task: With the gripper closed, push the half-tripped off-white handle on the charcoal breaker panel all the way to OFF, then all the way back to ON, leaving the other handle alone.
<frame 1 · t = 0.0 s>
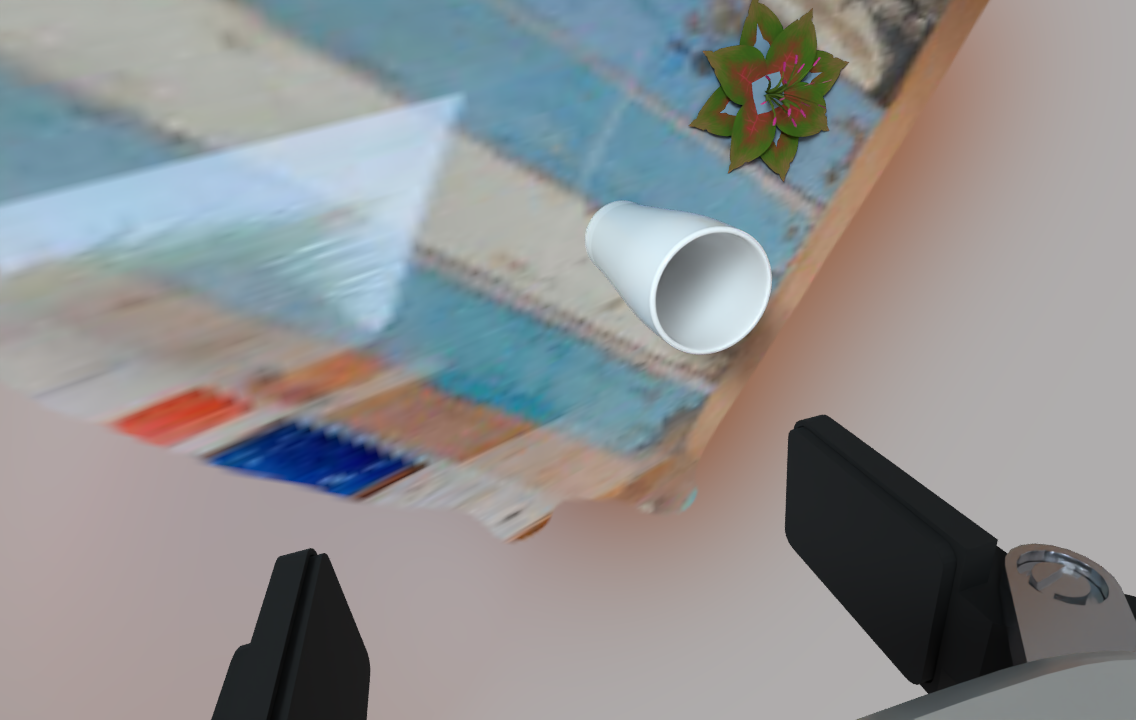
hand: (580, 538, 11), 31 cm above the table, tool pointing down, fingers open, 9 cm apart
lily flower: (762, 94, 41), on the table
drinking glass: (617, 236, 42), on the table
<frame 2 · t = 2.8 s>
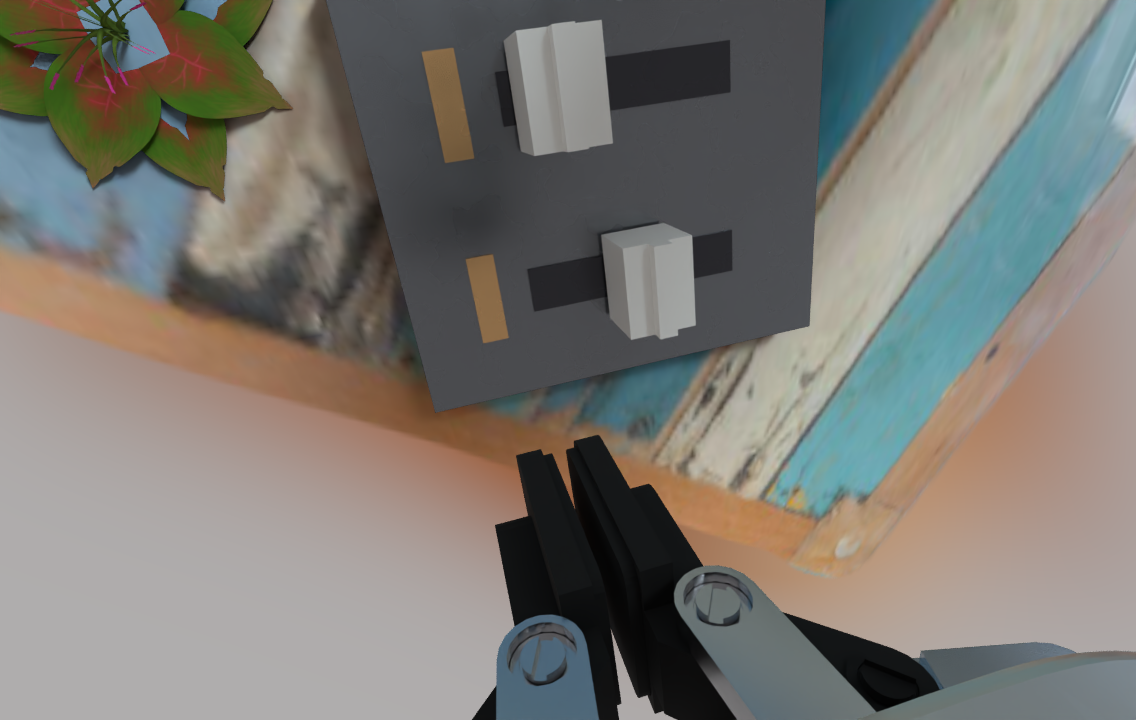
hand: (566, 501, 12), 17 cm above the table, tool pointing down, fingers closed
breaker panel: (602, 179, 27), on the table
tripped breaker: (650, 281, 25), point 4 cm above the table, slide at 3.0 cm
lily flower: (131, 35, 21), on the table
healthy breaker: (559, 91, 21), point 4 cm above the table, slide at 6.0 cm
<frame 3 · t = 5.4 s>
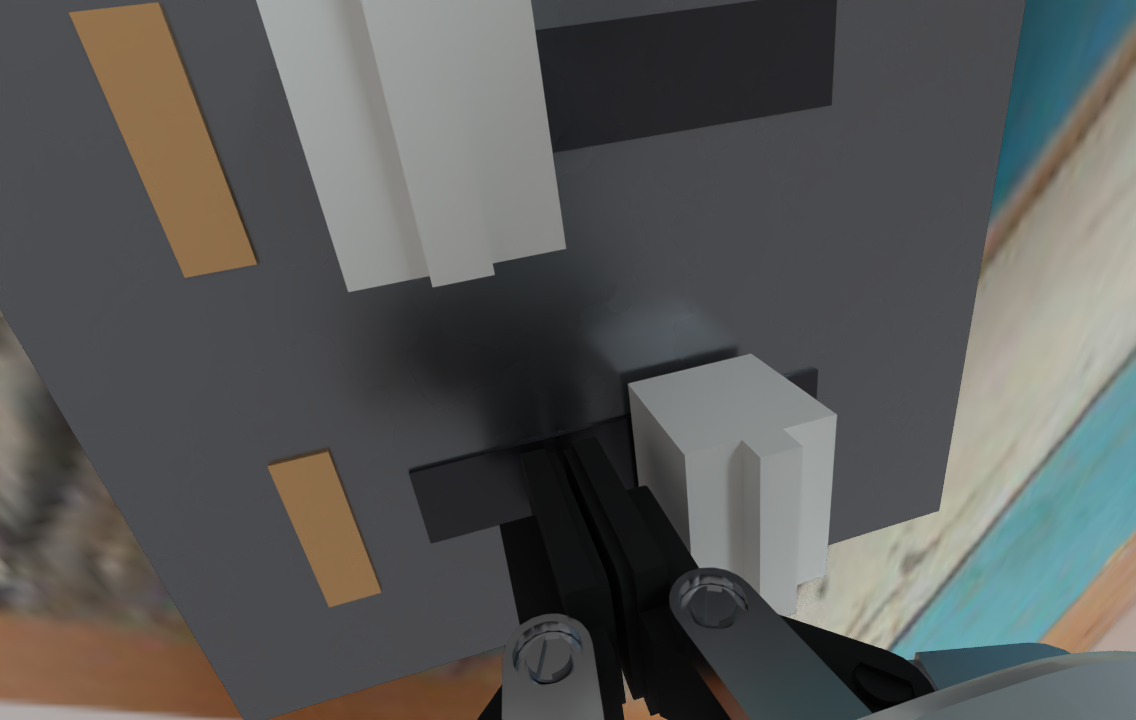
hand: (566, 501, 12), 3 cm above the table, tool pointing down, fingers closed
breaker panel: (565, 276, 14), on the table
tripped breaker: (731, 485, 12), point 4 cm above the table, slide at 1.4 cm, touching gripper
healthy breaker: (423, 112, 8), point 4 cm above the table, slide at 6.0 cm
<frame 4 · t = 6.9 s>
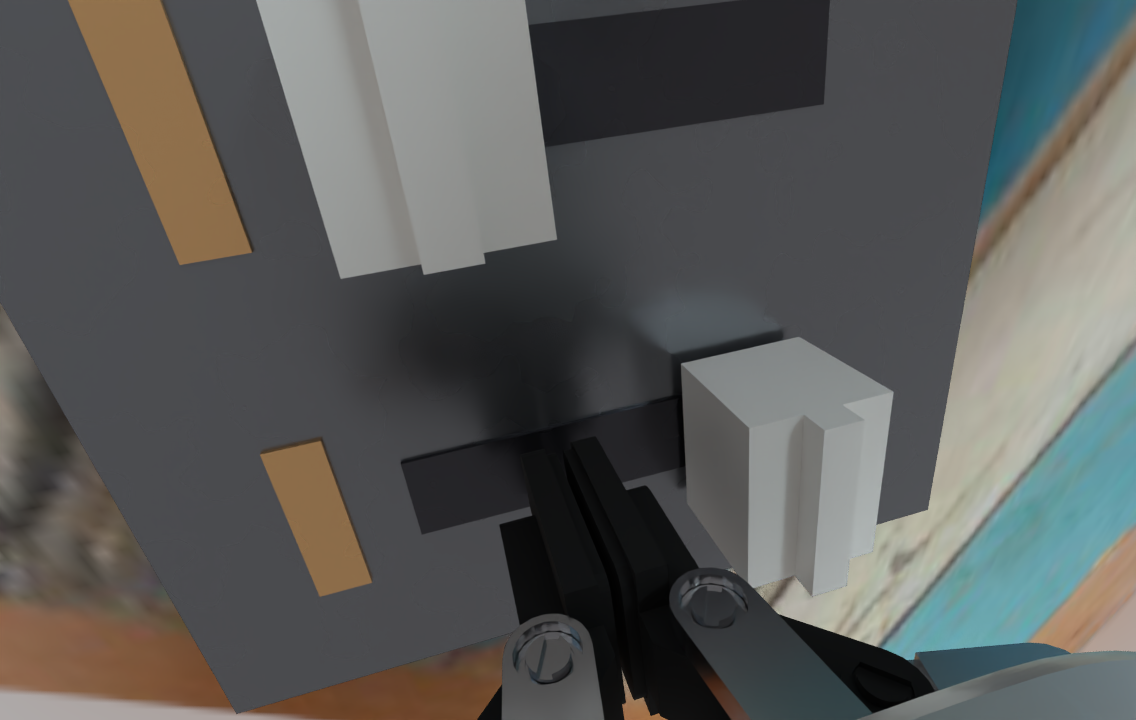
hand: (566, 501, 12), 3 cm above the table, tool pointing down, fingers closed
breaker panel: (559, 270, 14), on the table
tripped breaker: (782, 463, 13), point 4 cm above the table, slide at -0.1 cm
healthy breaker: (418, 102, 8), point 4 cm above the table, slide at 6.0 cm
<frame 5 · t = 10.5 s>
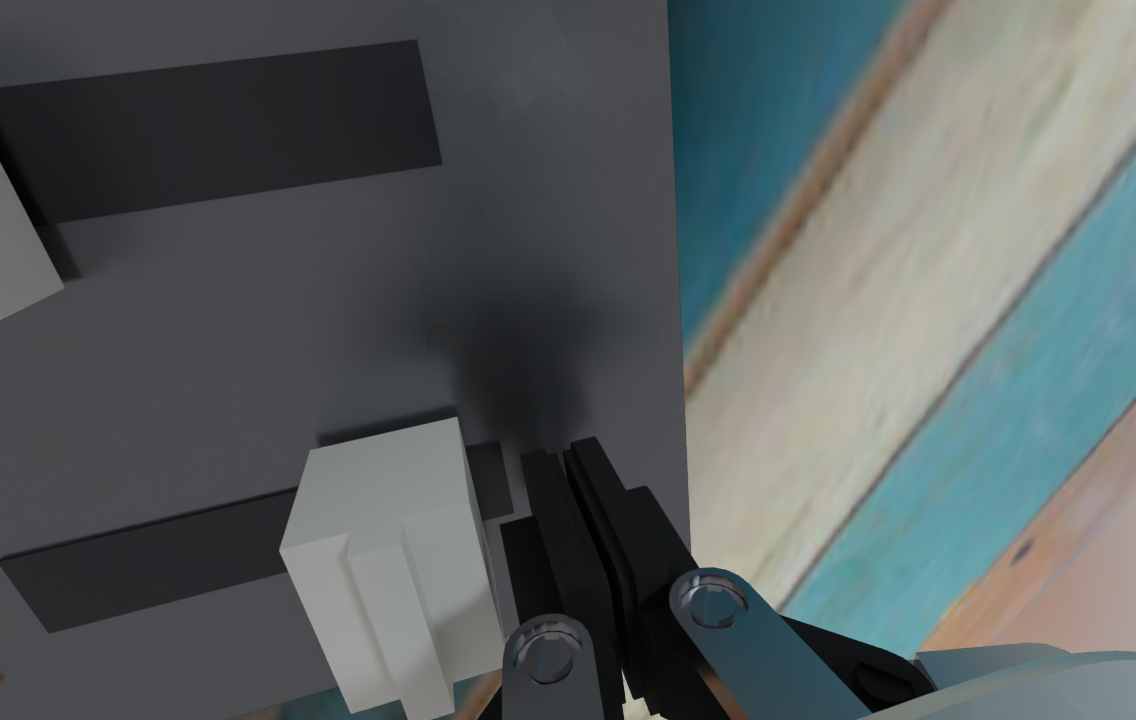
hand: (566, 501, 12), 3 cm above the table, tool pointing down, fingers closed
breaker panel: (217, 337, 13), on the table
tripped breaker: (407, 566, 11), point 4 cm above the table, slide at 0.3 cm, touching gripper
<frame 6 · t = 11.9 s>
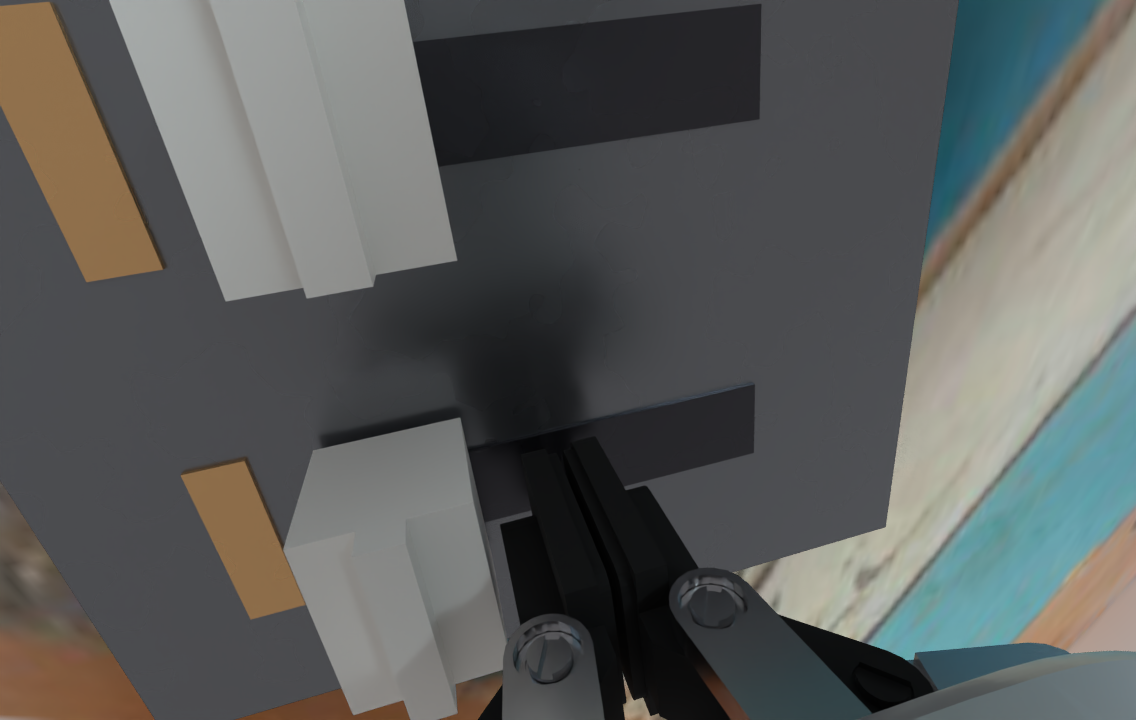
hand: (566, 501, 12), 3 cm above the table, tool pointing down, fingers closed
breaker panel: (500, 285, 14), on the table
tripped breaker: (410, 566, 11), point 4 cm above the table, slide at 6.5 cm, touching gripper
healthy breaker: (314, 119, 8), point 4 cm above the table, slide at 6.0 cm
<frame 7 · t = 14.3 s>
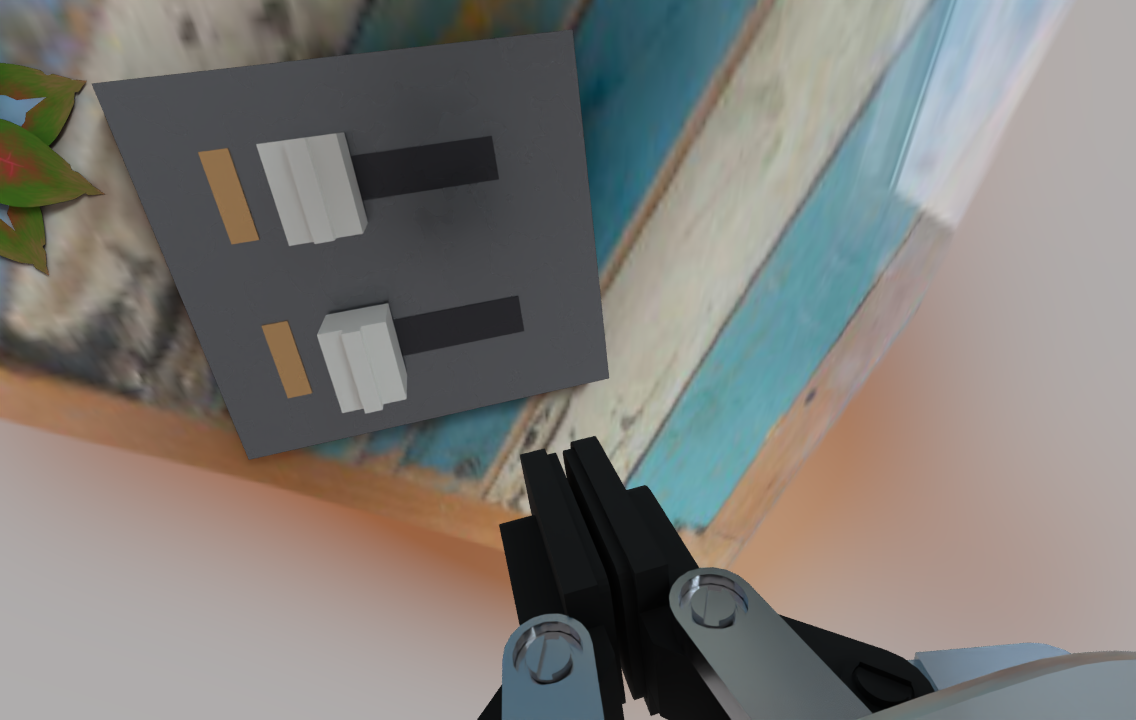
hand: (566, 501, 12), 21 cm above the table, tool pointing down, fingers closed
breaker panel: (400, 251, 30), on the table
tripped breaker: (365, 358, 28), point 4 cm above the table, slide at 6.1 cm
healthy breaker: (316, 188, 24), point 4 cm above the table, slide at 6.0 cm
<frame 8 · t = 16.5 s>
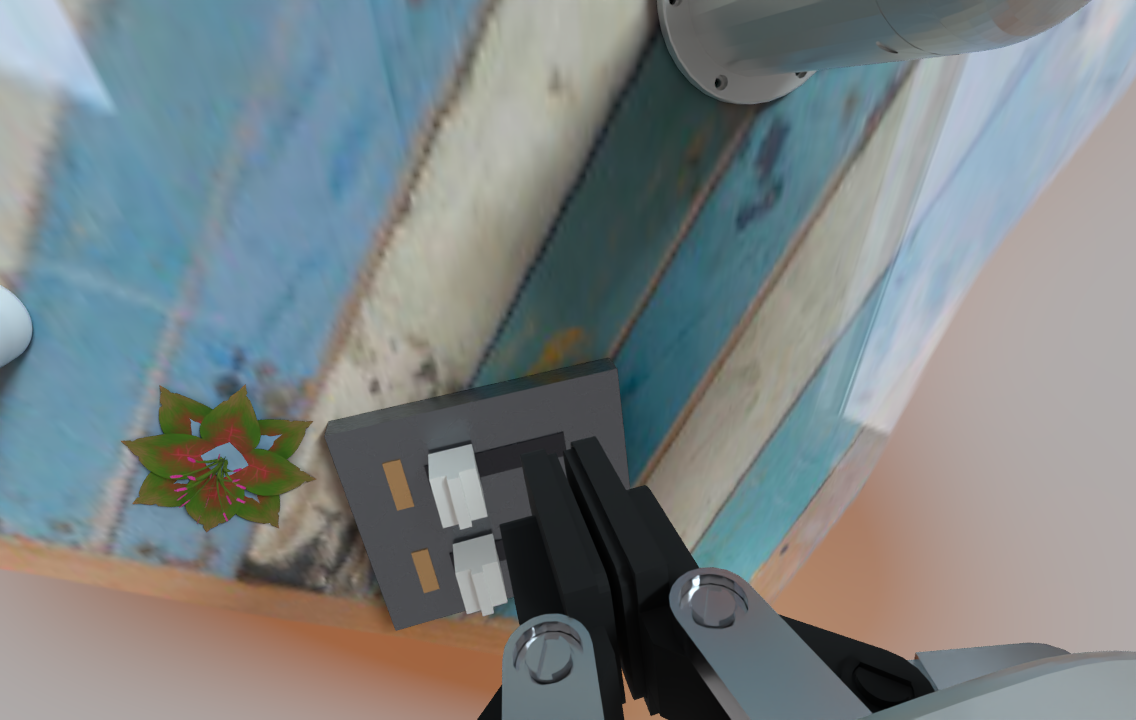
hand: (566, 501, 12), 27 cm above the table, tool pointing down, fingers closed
breaker panel: (497, 490, 44), on the table
tripped breaker: (480, 576, 42), point 4 cm above the table, slide at 6.1 cm
lily flower: (227, 455, 39), on the table
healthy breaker: (457, 487, 39), point 4 cm above the table, slide at 6.0 cm
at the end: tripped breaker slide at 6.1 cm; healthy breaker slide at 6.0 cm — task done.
